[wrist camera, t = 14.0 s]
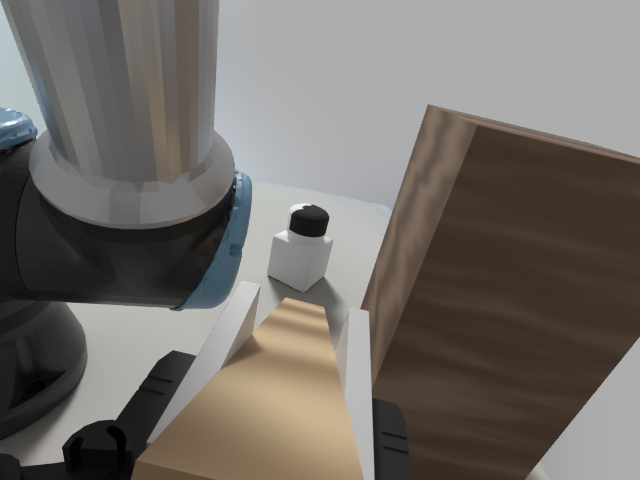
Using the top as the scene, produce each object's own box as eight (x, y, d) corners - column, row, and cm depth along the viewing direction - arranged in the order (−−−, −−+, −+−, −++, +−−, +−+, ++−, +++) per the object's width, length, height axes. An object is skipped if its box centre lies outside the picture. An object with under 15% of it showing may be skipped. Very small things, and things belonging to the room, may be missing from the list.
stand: (493, 517, 30) (756, 192, 17) (335, 478, 30) (477, 124, 17) (454, 387, 43) (588, 143, 30) (343, 360, 43) (427, 104, 30)
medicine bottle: (324, 276, 59) (341, 211, 54) (303, 294, 53) (320, 223, 48) (289, 259, 62) (302, 196, 56) (265, 274, 56) (277, 205, 51)
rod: (315, 782, 5) (372, 518, 5) (65, 720, 5) (136, 459, 5) (314, 345, 31) (323, 306, 31) (275, 336, 31) (285, 297, 31)
